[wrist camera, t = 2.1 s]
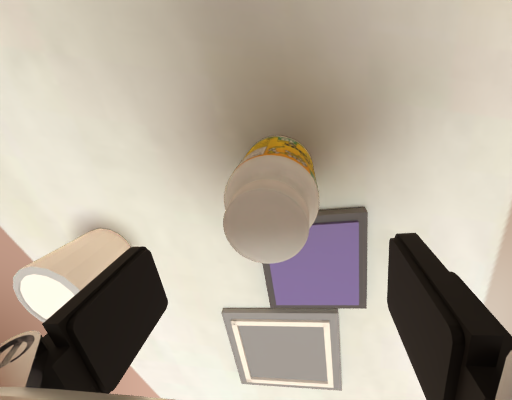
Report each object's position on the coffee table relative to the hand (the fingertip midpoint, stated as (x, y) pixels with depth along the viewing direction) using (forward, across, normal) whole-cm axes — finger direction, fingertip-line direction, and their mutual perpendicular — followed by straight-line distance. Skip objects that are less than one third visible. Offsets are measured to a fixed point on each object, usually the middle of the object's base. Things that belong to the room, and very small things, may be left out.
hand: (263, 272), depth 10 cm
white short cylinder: (+12, +19, +6) cm, 23 cm away
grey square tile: (+12, +2, +20) cm, 23 cm away
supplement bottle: (+12, 0, -1) cm, 12 cm away
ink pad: (+12, -2, +8) cm, 14 cm away
